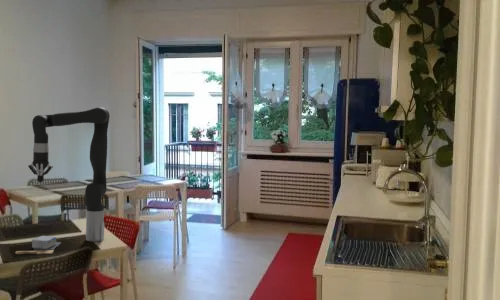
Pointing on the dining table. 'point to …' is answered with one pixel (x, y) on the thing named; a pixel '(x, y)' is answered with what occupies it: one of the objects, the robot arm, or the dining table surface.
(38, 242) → the medicine box
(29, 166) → the robot arm
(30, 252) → the wooden turner
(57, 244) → the rubber mat
